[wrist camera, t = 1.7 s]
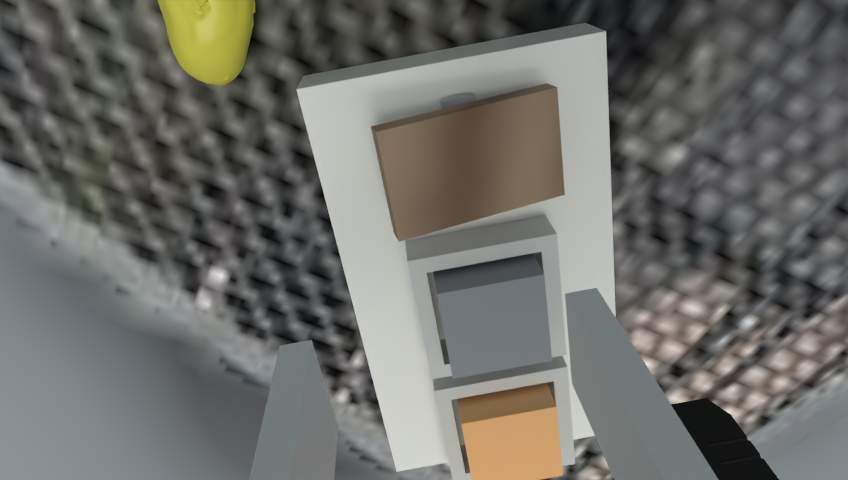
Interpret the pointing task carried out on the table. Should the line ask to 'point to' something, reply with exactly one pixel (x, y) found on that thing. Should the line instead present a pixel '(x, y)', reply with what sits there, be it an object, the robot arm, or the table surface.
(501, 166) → the walnut rocker
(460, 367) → the charcoal button
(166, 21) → the lemon
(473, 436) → the orange button
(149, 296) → the table surface
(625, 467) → the robot arm
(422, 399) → the switch housing
